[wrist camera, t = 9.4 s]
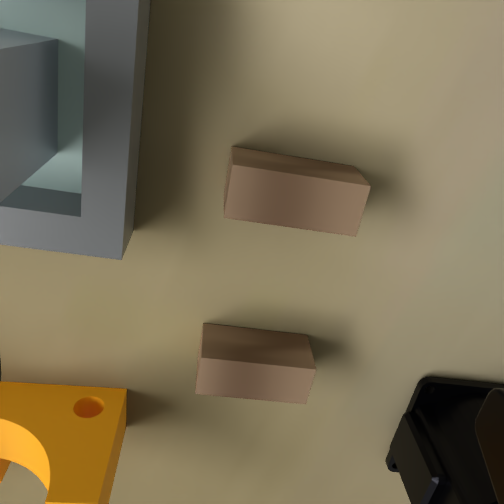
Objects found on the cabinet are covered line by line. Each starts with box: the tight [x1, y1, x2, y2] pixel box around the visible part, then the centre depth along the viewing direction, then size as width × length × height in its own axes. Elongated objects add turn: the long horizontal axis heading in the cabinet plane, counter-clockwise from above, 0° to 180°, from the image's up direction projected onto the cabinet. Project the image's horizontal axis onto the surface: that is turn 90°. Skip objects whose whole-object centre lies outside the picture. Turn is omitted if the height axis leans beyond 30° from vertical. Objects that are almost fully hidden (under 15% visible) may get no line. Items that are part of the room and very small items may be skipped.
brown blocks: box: [195, 146, 371, 404], centre depth 20 cm, size 5×10×2 cm, turn 170°
